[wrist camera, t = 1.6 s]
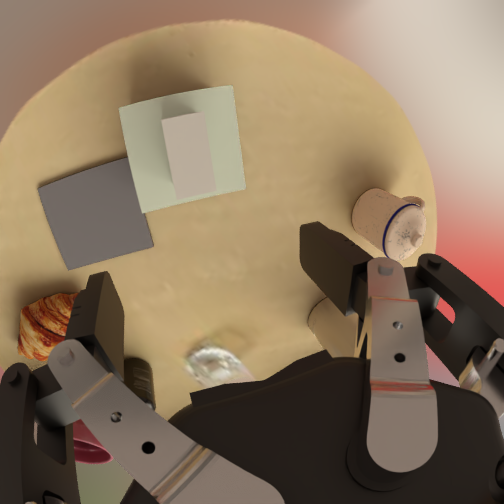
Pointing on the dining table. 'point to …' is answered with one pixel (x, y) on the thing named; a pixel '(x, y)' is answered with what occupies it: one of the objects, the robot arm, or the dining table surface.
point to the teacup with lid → (390, 222)
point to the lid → (183, 147)
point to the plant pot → (88, 446)
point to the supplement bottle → (140, 380)
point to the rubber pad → (96, 214)
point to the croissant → (44, 325)
